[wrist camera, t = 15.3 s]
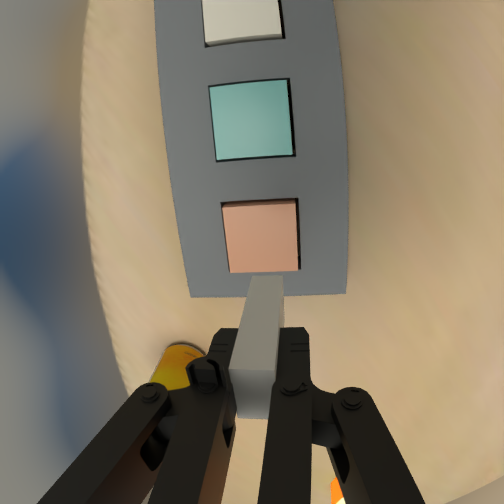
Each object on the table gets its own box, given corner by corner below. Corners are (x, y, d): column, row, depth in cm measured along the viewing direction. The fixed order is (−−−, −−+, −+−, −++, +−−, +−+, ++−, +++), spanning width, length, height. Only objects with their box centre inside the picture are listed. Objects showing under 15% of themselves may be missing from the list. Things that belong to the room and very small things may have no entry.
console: (164, -17, 22) (153, -28, 19) (320, -36, 20) (323, -50, 17) (198, 283, 34) (190, 297, 31) (341, 278, 32) (345, 293, 29)
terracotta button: (228, 199, 29) (222, 207, 27) (294, 195, 29) (295, 203, 26) (235, 259, 32) (230, 272, 29) (297, 256, 31) (297, 270, 28)
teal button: (217, 90, 26) (209, 87, 23) (286, 84, 25) (286, 79, 22) (224, 155, 28) (216, 160, 25) (292, 151, 27) (292, 154, 24)
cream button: (209, -6, 22) (200, -18, 19) (275, -14, 21) (274, -27, 18) (213, 49, 24) (205, 42, 21) (282, 42, 23) (281, 33, 20)
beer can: (208, 380, 40) (179, 475, 26) (164, 369, 40) (124, 458, 26) (212, 347, 38) (178, 449, 24) (164, 335, 38) (115, 429, 24)
